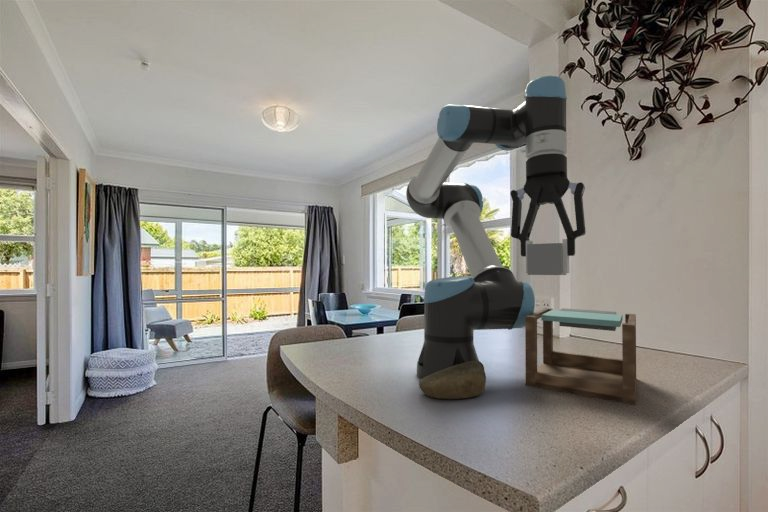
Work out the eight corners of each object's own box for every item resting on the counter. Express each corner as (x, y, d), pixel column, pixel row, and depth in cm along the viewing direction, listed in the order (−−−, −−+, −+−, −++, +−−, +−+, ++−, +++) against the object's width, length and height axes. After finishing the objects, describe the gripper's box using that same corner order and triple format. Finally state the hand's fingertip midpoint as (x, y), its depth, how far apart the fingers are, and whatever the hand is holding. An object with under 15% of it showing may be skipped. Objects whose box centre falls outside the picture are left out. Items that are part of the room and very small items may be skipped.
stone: (504, 389, 75) (487, 349, 73) (450, 432, 71) (430, 390, 68) (478, 374, 83) (461, 337, 81) (428, 411, 79) (409, 373, 76)
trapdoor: (541, 333, 84) (541, 315, 84) (556, 322, 99) (556, 307, 99) (620, 341, 75) (620, 321, 75) (623, 328, 91) (623, 311, 91)
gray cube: (527, 274, 73) (527, 244, 73) (534, 274, 78) (534, 246, 78) (561, 275, 69) (560, 242, 69) (566, 275, 74) (565, 245, 74)
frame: (525, 385, 82) (525, 316, 82) (544, 365, 98) (544, 308, 99) (635, 404, 70) (634, 325, 71) (636, 378, 87) (635, 314, 87)
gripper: (492, 160, 77) (493, 272, 76) (599, 143, 66) (601, 273, 65) (503, 168, 83) (504, 272, 82) (602, 154, 72) (604, 273, 71)
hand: (547, 272), depth 74 cm, fingers closed on gray cube, 6 cm apart
